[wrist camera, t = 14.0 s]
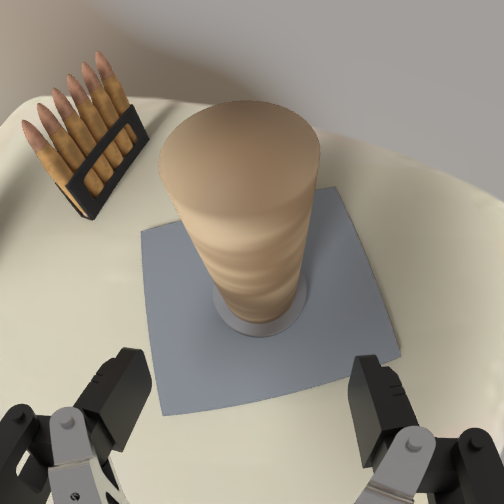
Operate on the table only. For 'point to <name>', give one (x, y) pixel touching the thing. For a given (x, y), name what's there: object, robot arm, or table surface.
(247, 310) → the tan ribbed cylinder
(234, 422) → the table surface
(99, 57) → the ammunition clip
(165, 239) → the slate mat
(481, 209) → the table surface
